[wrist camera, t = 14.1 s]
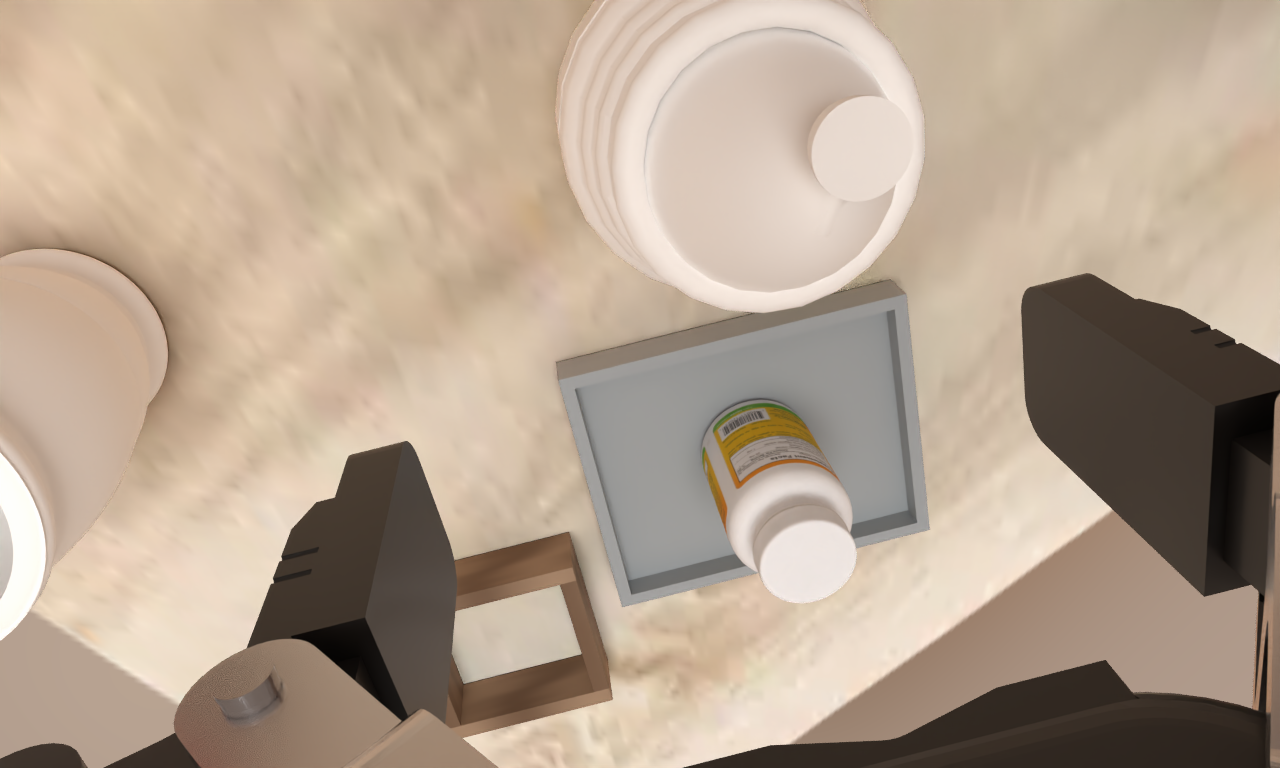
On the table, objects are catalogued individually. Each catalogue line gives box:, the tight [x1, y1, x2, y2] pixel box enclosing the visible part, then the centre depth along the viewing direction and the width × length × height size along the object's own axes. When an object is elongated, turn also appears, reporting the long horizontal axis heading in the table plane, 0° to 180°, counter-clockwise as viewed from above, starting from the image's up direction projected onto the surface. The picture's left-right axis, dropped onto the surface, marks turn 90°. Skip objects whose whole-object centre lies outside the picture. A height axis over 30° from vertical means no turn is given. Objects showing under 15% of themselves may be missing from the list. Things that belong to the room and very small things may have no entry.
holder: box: [445, 532, 613, 738], centre depth 49 cm, size 9×9×3 cm
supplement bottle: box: [701, 400, 857, 603], centre depth 42 cm, size 5×5×10 cm
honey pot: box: [555, 0, 925, 313], centre depth 32 cm, size 13×13×18 cm
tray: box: [556, 280, 930, 607], centre depth 46 cm, size 16×13×2 cm
